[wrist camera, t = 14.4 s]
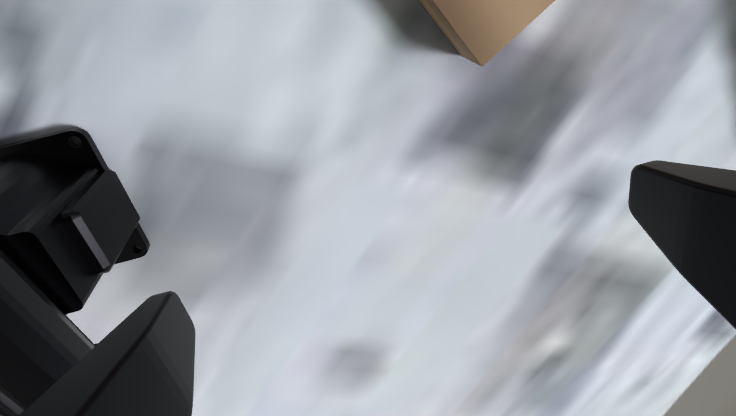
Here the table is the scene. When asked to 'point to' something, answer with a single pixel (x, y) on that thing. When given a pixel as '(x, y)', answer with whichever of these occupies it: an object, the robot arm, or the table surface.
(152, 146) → the table surface
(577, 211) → the table surface
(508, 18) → the socket board
